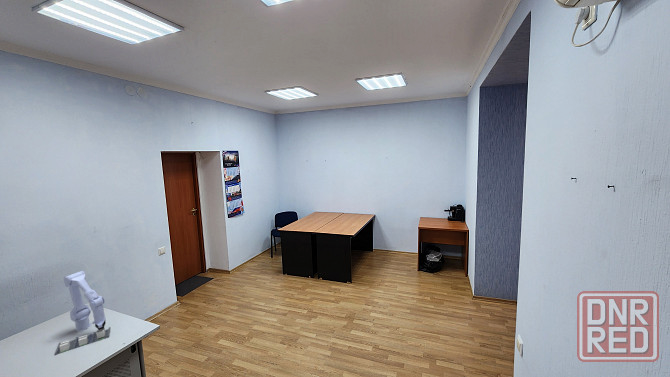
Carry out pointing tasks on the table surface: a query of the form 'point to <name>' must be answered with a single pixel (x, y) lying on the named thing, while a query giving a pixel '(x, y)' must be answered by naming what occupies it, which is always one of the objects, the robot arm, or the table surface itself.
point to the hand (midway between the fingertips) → (101, 331)
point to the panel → (91, 339)
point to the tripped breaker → (100, 333)
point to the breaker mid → (83, 340)
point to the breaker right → (64, 346)
